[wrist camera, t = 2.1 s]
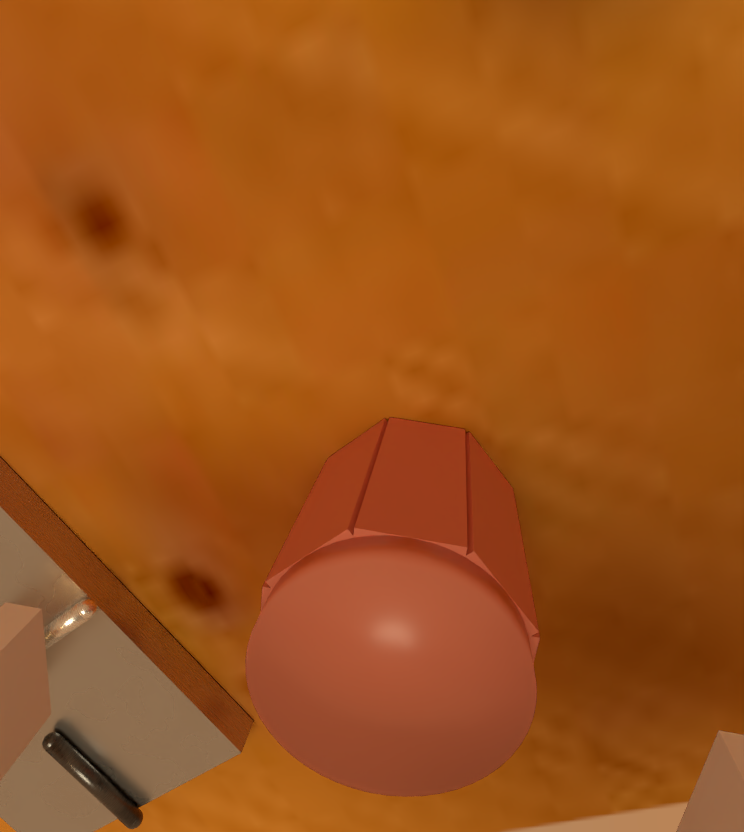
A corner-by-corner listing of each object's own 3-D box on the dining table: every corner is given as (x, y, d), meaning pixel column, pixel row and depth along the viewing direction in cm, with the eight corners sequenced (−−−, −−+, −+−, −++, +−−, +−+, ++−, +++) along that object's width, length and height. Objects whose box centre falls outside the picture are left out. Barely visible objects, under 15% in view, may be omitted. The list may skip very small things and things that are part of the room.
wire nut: (546, 531, 20) (596, 728, 13) (396, 616, 22) (363, 831, 15) (433, 384, 19) (415, 506, 12) (285, 487, 21) (188, 648, 13)
